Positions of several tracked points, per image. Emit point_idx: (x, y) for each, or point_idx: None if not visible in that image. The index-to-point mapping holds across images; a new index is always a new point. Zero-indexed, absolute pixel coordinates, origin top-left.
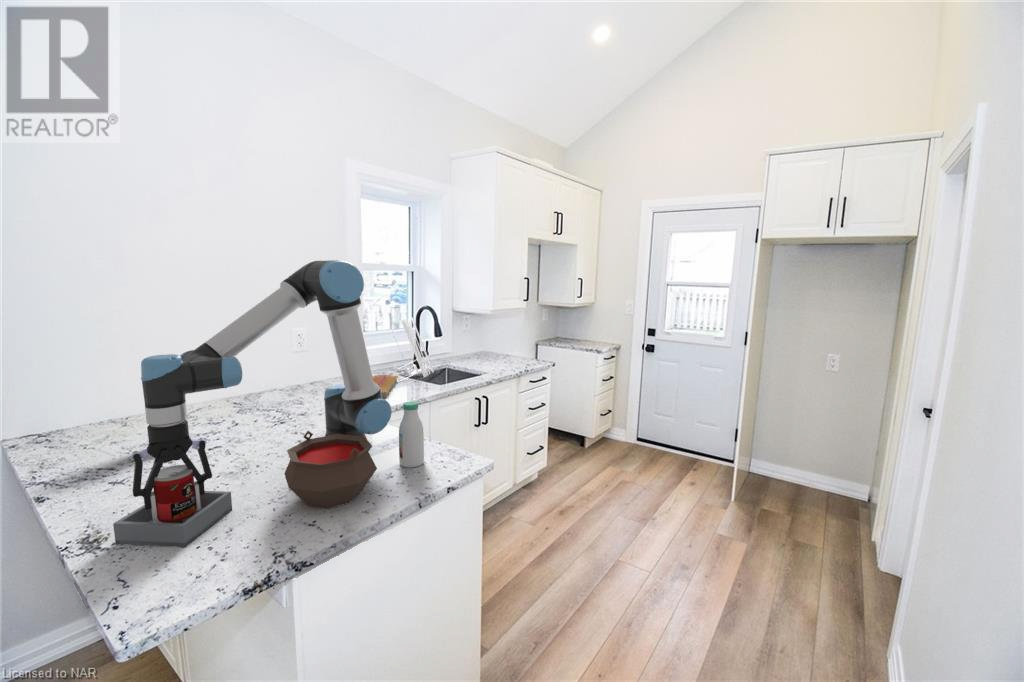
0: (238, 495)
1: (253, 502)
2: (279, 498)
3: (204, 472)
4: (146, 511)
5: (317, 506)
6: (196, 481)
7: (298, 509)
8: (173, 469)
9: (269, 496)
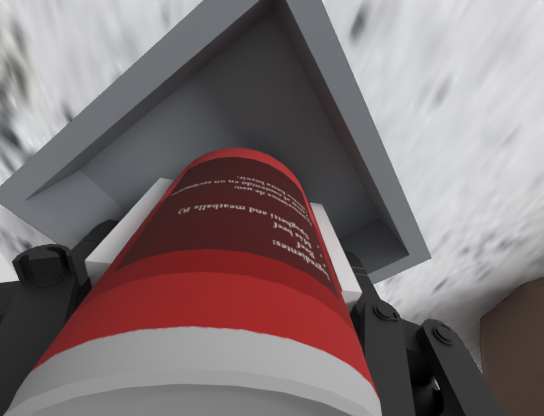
0: (488, 116)
1: (455, 213)
2: (501, 245)
3: (427, 354)
4: (134, 113)
5: (480, 338)
6: (354, 300)
7: (459, 317)
8: (240, 402)
9: (507, 212)
